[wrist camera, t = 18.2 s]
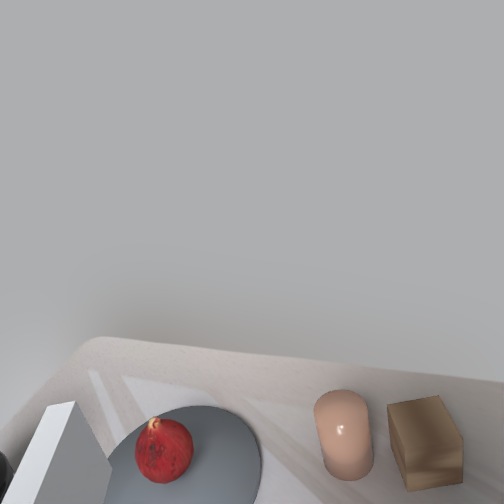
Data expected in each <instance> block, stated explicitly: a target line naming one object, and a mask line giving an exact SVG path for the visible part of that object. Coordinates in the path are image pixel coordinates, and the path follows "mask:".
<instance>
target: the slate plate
mask: <svg viewBox="0 0 504 504" xmlns="http://www.w3.org/2000/svg"><path fill="white" fill-rule="evenodd" d="M157 417H159V418H160V419H172V420H175V421H177V422H180V423H181V424H183V425H184V426H185V427H186V428H187V430H188V431H189V432H190V434H191V436H192V440H193V447H194V454H193V457H192V460H191V463H190V465H189V467H188V468H187V470H186V471H185V473H184V474H182V475H181V476H180V477H179V478H178V479H177V480H174V481H172V482H169V483H167V484H161V483H154V482H151V481H150V480H149V479H147V478H146V477H144V476H143V474H142V473H141V472H140V470H139V468H138V466H137V463H136V460H135V446H136V441H137V439H138V437H139V435H140V433H141V431H142V430H143V429H144V428H145V427H146V426H147V425H148V423H149V421H147V422H146V423H144V424H143V425H141V426H140V427H138V428H137V429H136V430H134V431H133V432H132V433H130V434H129V435H128V436H127V437H126V438H125V439H124V440H123V441H122V442H121V443H120V444H119V445H118V446H117V447H116V448H115V450H114V451H113V452H112V453H111V455H110V456H109V457H108V461H109V463H110V465H111V467H112V473H111V476H110V480H109V484H108V488H107V491H106V495H105V499H104V503H103V504H253V503H254V501H255V498H256V496H257V492H258V489H259V485H260V478H261V461H260V454H259V451H258V448H257V444H256V441H255V439H254V437H253V435H252V433H251V431H250V430H249V428H248V427H247V426H246V425H245V424H244V423H243V422H242V421H241V420H240V419H239V418H238V417H236V416H235V415H233V414H231V413H229V412H228V411H225V410H222V409H219V408H215V407H209V406H191V407H183V408H179V409H175V410H172V411H169V412H166V413H163V414H161V415H159V416H157Z"/></svg>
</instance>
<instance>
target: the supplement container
mask: <svg viewBox="0 0 504 504" xmlns="http://www.w3.org/2000/svg"><path fill="white" fill-rule="evenodd" d="M15 474H16V473H15V472H14V470H13V469H12V467H11V466H10V464H9V461H8V459H7V458H6V456H5V455H4V454H3V453H2V452H1V451H0V504H1V503H2V501H3V499H4V497H5V494H6V492H7V490H8V488H9V486H10V484H11V482H12V480H13V478H14V476H15Z"/></svg>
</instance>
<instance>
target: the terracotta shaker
mask: <svg viewBox="0 0 504 504" xmlns="http://www.w3.org/2000/svg"><path fill="white" fill-rule="evenodd" d="M314 416H315V421H316V426H317V431H318V436H319V440H320V445H321V450H322V455H323V460H324V464H325V467H326V469H327V470H328V471H329V473H330V474H331V475H333V476H334V477H336V478H338V479H340V480H344V481H354V480H358V479H361V478H363V477H364V476H366V475H367V474H368V473H369V472H370V470H371V469H372V466H373V462H374V458H373V450H372V442H371V434H370V426H369V418H368V410H367V405H366V403H365V401H364V400H363V398H362V397H361V396H359V395H358V394H356V393H354V392H352V391H348V390H334V391H330V392H328V393H326V394H324V395H323V396H321V397H320V398H319V399H318V400H317V402H316V404H315V406H314Z"/></svg>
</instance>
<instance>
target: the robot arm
mask: <svg viewBox="0 0 504 504" xmlns="http://www.w3.org/2000/svg"><path fill="white" fill-rule="evenodd" d="M111 473H112V467H111V465H110V463H109V461H108V459H107V458H106V456H105V454H104V452H103V450H102V448H101V447H100V445H99V443H98V441H97V439H96V437H95V435H94V434H93V432H92V430H91V428H90V426H89V424H88V423H87V421H86V419H85V417H84V415H83V413H82V412H81V410H80V408H79V406H78V404H77V402H76V401H72V402H66V403H61V404H56V405H51V406H47V409H46V411H45V413H44V415H43V417H42V419H41V421H40V423H39V425H38V427H37V430H36V432H35V434H34V436H33V438H32V440H31V442H30V444H29V446H28V448H27V450H26V453H25V455H24V457H23V459H22V461H21V463H20V465H19V467H18V469H17V471H16V474H15V476H14V478H13V480H12V482H11V484H10V486H9V488H8V490H7V492H6V494H5V497H4V499H3V501H2V503H1V504H103V503H104V499H105V495H106V491H107V488H108V484H109V480H110V476H111Z"/></svg>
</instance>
